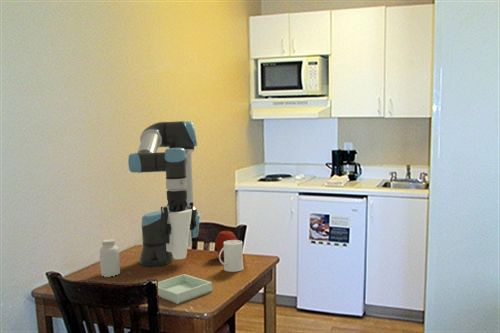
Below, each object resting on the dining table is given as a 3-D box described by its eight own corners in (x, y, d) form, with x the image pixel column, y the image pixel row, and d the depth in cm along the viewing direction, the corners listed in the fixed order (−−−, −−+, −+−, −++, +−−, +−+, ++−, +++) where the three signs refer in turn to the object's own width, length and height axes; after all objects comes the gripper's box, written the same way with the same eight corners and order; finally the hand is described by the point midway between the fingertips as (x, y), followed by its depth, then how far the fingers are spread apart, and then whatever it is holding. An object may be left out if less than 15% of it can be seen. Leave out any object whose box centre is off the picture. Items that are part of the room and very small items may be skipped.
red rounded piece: (225, 262, 232) (223, 232, 231) (211, 258, 239) (210, 229, 238) (241, 257, 239) (241, 228, 237) (228, 253, 246) (227, 225, 245)
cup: (168, 254, 197) (166, 208, 195) (195, 253, 197) (193, 207, 195) (162, 261, 186) (160, 213, 185) (191, 261, 186) (189, 212, 184)
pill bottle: (114, 270, 224) (112, 237, 222) (123, 274, 218) (121, 240, 217) (97, 275, 218) (95, 240, 217) (106, 278, 213) (104, 243, 211)
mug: (224, 274, 213) (223, 246, 212) (213, 270, 220) (212, 243, 219) (247, 269, 220) (246, 242, 219) (236, 265, 227) (235, 238, 226)
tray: (150, 293, 193) (149, 284, 192) (184, 282, 205) (184, 273, 204) (177, 304, 181) (177, 294, 181) (212, 291, 193) (211, 282, 193)
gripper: (159, 194, 179) (162, 256, 181) (204, 186, 194) (207, 244, 196) (146, 192, 184) (150, 253, 186) (192, 185, 199) (194, 241, 201)
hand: (179, 248), depth 191 cm, fingers closed on cup, 8 cm apart
